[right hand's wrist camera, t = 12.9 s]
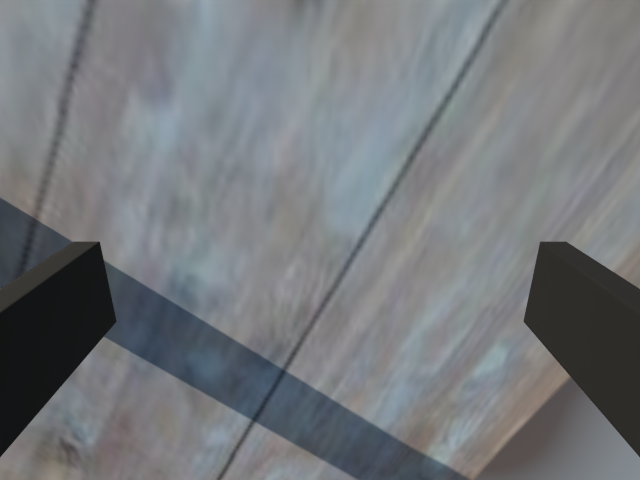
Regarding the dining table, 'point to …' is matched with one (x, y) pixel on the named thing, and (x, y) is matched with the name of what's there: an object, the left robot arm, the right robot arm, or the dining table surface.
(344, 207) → the dining table surface
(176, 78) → the dining table surface
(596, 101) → the dining table surface
